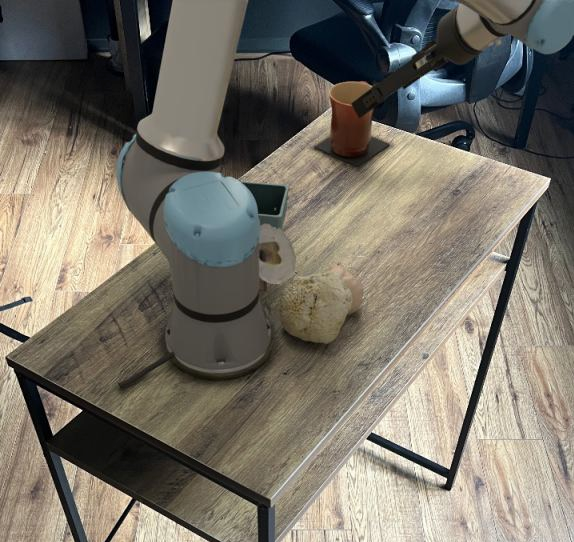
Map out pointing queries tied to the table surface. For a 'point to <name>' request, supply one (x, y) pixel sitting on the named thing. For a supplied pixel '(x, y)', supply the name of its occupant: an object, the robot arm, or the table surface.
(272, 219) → the flower pot
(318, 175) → the table surface
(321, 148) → the mat
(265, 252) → the figurine
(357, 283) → the garlic bulb
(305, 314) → the decorative item
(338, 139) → the mug
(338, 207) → the table surface
